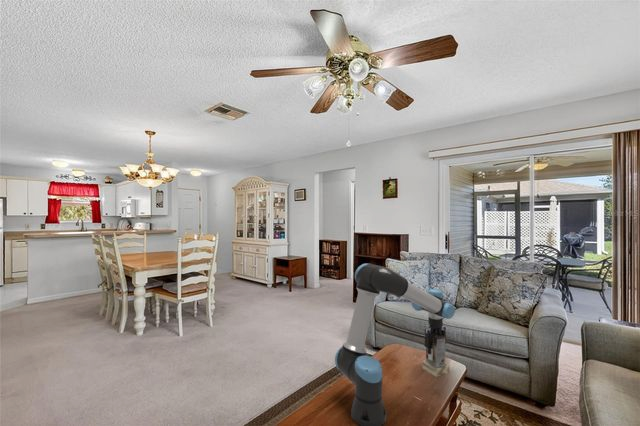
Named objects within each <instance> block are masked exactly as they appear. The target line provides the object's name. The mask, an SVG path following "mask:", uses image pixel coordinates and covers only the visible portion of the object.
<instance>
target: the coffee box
mask: <svg viewBox="0 0 640 426" xmlns="http://www.w3.org/2000/svg"><path fill="white" fill-rule="evenodd" d="M431 336H432V335H431ZM432 337H433V345H432V349H433V361H431V360H430V359H428V348H427V347H425V360H427V361H429V362H430V363H431V364H433V365H434V366H435V367H441V366H445V364H446V344H445V336H443V335H439V334H436V336H432ZM429 346H430V345H429Z"/></svg>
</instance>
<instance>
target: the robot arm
mask: <svg viewBox="0 0 640 426" xmlns="http://www.w3.org/2000/svg"><path fill="white" fill-rule="evenodd" d="M354 280H355V282H356V290H357V297H356V301H355V306H354V309H353V313H352V319H351V323H350V326H349V331H348V335H347V339H346V341H345V342H343V343H342V346H341V347H339V349H337V351H336V353H335V356H334V363H335V367H336V369H337V370H338V371H339V372H340V373H341V374H342V375H344V377H346V378H347V379H348V380H349V381H350V382H351V383H352V384H353V385H354V397H353V401H352V405H351V408H350V416H351V419H352V420H353V422H354V423H355V424H357V425H359V426H383V425H384V424H385V423H386V421H387V410H386V407H385V404H384V401H383V368H382V365H381V362H380V361H379V360H378V359H377V358H375V357H373V356H369V355H367V349H366V347H365V345H366V339H367V335H368V333H369V327H370V324H371V323H370V322H371V317H372V314H373V309H374V305H375V301H376V297H378V296H379V295H380V293H384V294H385V293H386V294H388V295H392V296H394V297H396V298H404V299H405V300H407V301H410V302H411V307H412V308H413V309H414V310H415V311H418V312H419V311H424V312H427V313H428V319H427V321H428V323H427V324H428V325H429V326H428V328H425V329H424V333H425V334H424V346H423V347H424V348H426V347H427V348H428V359H430V360H431V361H433V349H432V345H433V337H432V336H436V334H439V335H443V336H445V345H447V335H446V330H447V327H446V326H443V324H444V323H443V318H444V319H447V320H448V319H449V320H450V319H452V318H453V317H454V316H455V312H456V311H455V307H454V305H453V303H449V302H446V301H443V300H444V298H443V291H442V290H440V289H437V288H436V289H435V288H431V289H428V292H427V291H425V290H423V289H421V288H419V287H417V286H416V285H414V284H413V283H411V282H409V280H408V279H407V278H406V277H404V276H402V275H400V274H399V273H398V272H396V271H394V270H392V269H390V268H388V267H386V266H383V265H382V266H381V265H376V264H373V263H362V264H361V265H359V266H358V267H357V269H355V272H354ZM431 335H432V336H431ZM429 345H430V346H429Z"/></svg>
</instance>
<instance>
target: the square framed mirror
mask: <svg viewBox="0 0 640 426" xmlns="http://www.w3.org/2000/svg"><path fill="white" fill-rule="evenodd" d="M422 369H423V370H424V371H426V372H427V373H429V374H430V375H432V376H434V377H435V378H436V377H441V376H443V375H448V374H450V365H448V364H447V363H445V366H441V367H435V366H434V365H433V364H431V363H430V362H429V361H427V360H426V359H425V360H422Z"/></svg>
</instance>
